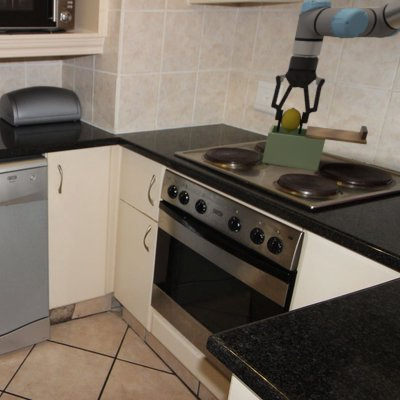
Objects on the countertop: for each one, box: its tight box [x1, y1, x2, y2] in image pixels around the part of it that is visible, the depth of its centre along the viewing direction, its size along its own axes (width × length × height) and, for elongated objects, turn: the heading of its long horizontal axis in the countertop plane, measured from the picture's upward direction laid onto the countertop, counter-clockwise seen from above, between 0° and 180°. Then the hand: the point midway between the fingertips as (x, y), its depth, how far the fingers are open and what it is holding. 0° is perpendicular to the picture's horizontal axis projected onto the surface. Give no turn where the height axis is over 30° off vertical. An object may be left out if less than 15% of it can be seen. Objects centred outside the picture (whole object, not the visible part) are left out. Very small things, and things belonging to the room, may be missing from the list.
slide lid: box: [306, 125, 369, 145], centre depth 145 cm, size 16×13×3 cm
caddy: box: [261, 124, 326, 171], centre depth 152 cm, size 16×13×10 cm
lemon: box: [280, 107, 302, 133], centre depth 150 cm, size 6×6×8 cm
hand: (288, 131), depth 151 cm, fingers closed on lemon, 5 cm apart
